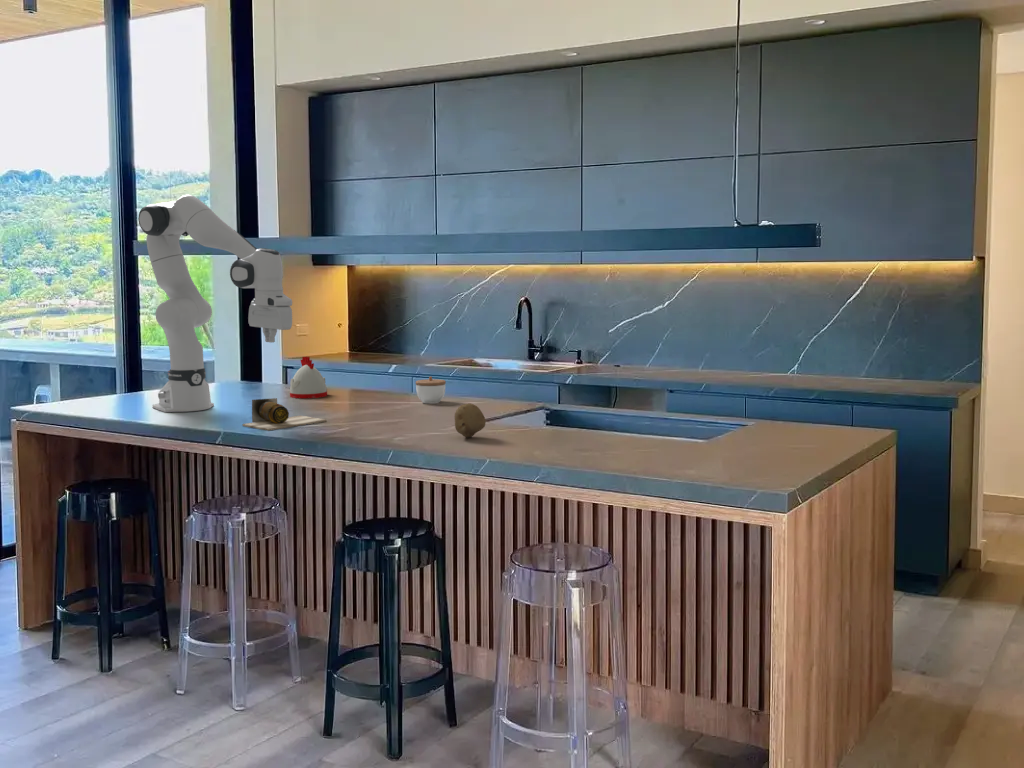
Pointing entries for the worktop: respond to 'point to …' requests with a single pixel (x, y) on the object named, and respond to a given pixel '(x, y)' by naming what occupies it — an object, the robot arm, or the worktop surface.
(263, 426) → the wooden cutting board
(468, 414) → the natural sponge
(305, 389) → the kitchen timer
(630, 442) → the worktop surface
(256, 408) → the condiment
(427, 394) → the lidded jar
